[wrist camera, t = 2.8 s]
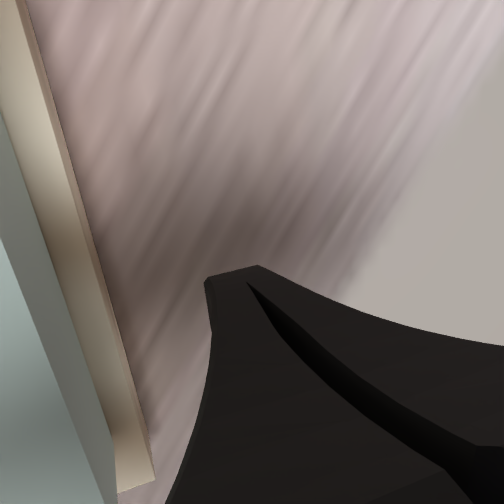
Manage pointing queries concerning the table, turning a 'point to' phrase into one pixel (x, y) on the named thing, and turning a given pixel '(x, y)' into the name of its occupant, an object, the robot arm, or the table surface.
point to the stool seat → (69, 238)
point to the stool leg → (43, 370)
